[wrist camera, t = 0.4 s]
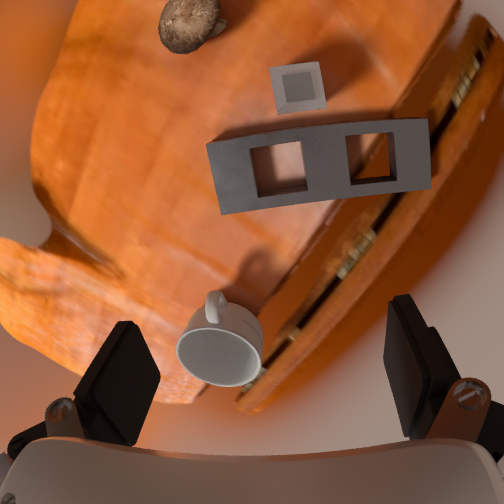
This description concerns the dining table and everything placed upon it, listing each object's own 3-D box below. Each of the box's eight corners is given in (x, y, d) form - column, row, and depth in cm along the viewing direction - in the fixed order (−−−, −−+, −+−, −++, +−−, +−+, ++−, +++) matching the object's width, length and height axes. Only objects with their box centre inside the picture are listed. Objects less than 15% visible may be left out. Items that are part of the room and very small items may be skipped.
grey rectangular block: (271, 75, 31) (268, 66, 23) (310, 70, 30) (319, 60, 22) (278, 112, 32) (277, 114, 25) (316, 107, 32) (327, 108, 24)
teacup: (258, 354, 48) (254, 394, 40) (188, 342, 48) (175, 379, 41) (275, 277, 41) (273, 315, 34) (192, 263, 42) (174, 298, 34)
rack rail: (225, 207, 38) (221, 215, 36) (210, 141, 34) (205, 144, 32) (422, 183, 34) (431, 188, 32) (418, 117, 31) (427, 118, 28)
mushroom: (254, 20, 25) (206, 2, 21) (210, 73, 31) (161, 65, 26) (222, -14, 26) (177, -30, 22) (185, 34, 32) (140, 26, 27)
